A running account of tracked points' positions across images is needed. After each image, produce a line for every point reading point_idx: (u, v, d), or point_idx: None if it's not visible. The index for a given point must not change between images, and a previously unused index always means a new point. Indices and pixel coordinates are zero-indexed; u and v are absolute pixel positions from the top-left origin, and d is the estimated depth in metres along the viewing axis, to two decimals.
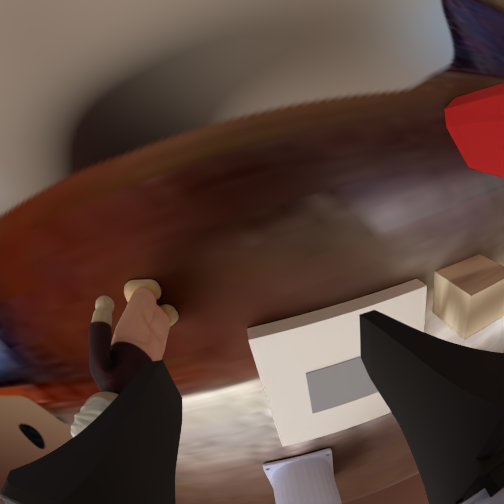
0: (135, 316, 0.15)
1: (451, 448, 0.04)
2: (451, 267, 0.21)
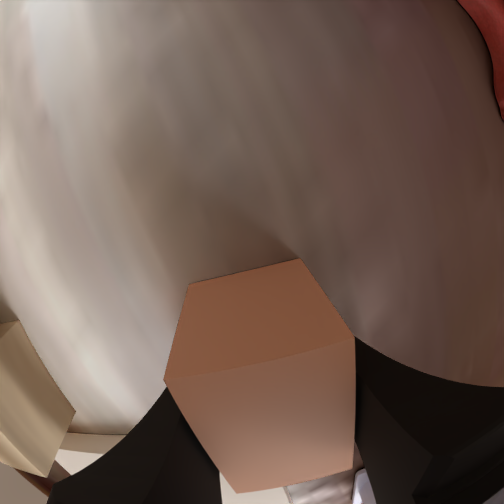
0: None
1: (392, 478, 0.04)
2: None
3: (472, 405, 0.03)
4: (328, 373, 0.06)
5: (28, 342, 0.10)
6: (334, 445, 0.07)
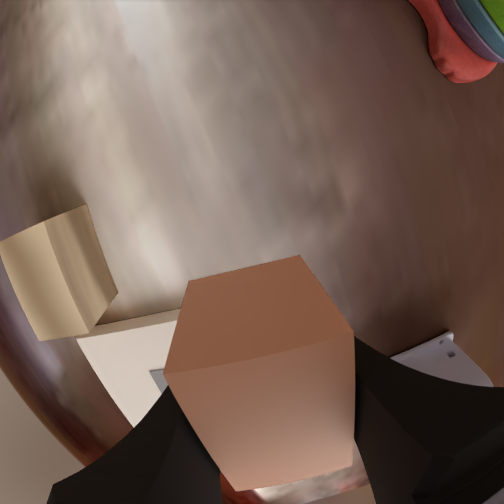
0: None
1: (392, 478, 0.04)
2: None
3: (472, 406, 0.03)
4: (328, 367, 0.06)
5: (91, 222, 0.16)
6: (333, 442, 0.07)
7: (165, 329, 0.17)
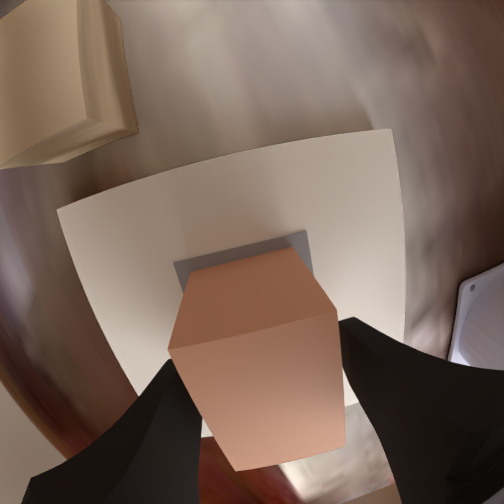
0: None
1: (422, 464, 0.04)
2: None
3: (499, 388, 0.03)
4: (315, 343, 0.07)
5: (121, 37, 0.09)
6: (326, 419, 0.08)
7: (215, 170, 0.10)
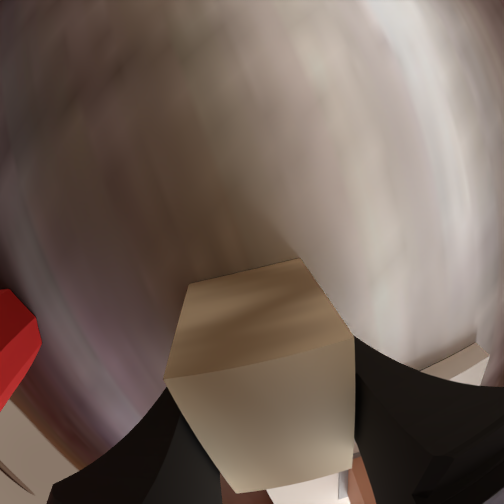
0: None
1: (392, 478, 0.04)
2: None
3: (471, 406, 0.03)
4: None
5: None
6: None
7: None
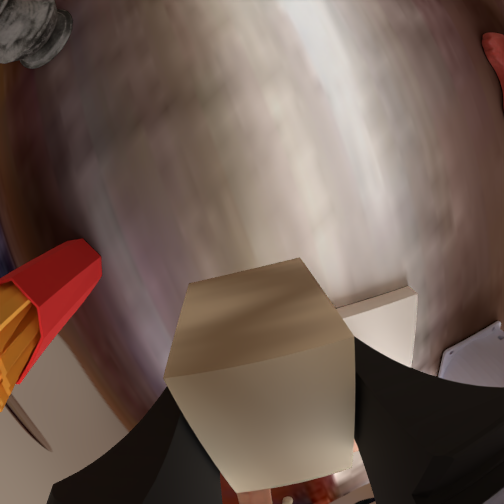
0: (239, 497, 0.23)
1: (392, 478, 0.04)
2: None
3: (472, 406, 0.03)
4: None
5: None
6: None
7: None
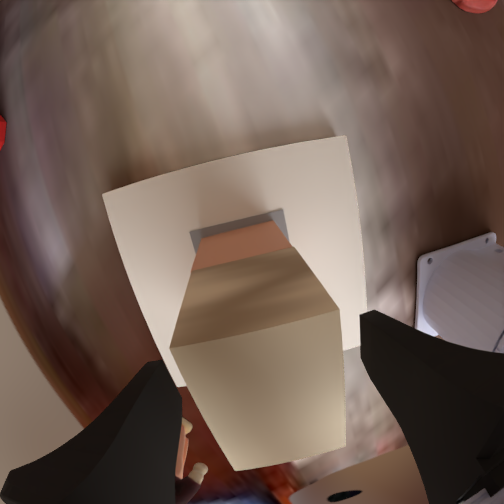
0: None
1: (451, 448, 0.04)
2: None
3: None
4: None
5: None
6: None
7: (219, 167, 0.15)
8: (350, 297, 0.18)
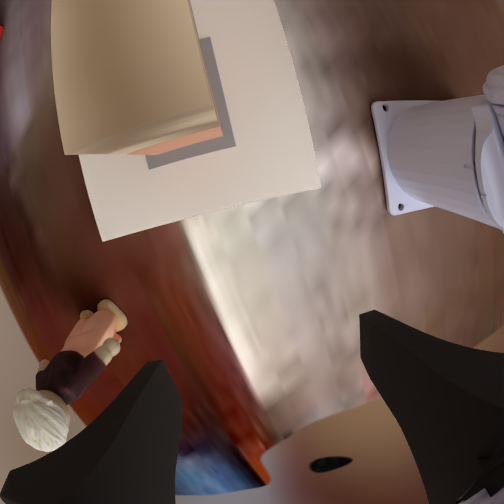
0: (64, 345, 0.16)
1: (451, 448, 0.04)
2: None
3: None
4: None
5: None
6: None
7: None
8: (289, 122, 0.16)
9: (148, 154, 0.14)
